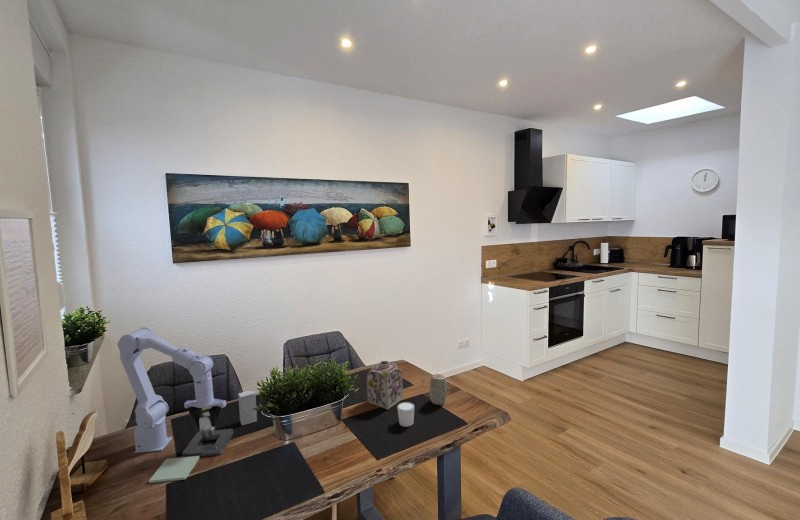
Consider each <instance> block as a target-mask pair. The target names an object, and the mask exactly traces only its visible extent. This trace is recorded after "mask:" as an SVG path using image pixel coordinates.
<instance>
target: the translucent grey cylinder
mask: <svg viewBox="0 0 800 520" xmlns="http://www.w3.org/2000/svg"><path fill="white" fill-rule="evenodd" d="M199 426H200V427H199V432H200V435H201V436H202V437H208V436H211V435H213V434H214V433H215V432H216V430H217V429H216V426H215V427H212V421H211V416H210V414H209V411H205V412H202V414H200V415H199Z"/></svg>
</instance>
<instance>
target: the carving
mask: <svg viewBox="0 0 800 520" xmlns="http://www.w3.org/2000/svg"><path fill="white" fill-rule="evenodd" d="M430 377H431V378H430V383H429V385H430V386H429V387H430V389H429V397H430V398H429V399H430V402H431V403H432V404H434V405H438V406H441V405H443V404H444V403H445V401H446V398H447V379H446V377H445V375H443V374H441V373H440V374H439V373H435V374H432V375H431V376H430Z"/></svg>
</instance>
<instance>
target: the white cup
mask: <svg viewBox="0 0 800 520" xmlns="http://www.w3.org/2000/svg"><path fill="white" fill-rule="evenodd" d="M396 408H397V415H398V423H399V425H400V426H401V427H411V426H412V425H413V424H414V419H415V404H414V403H412V402H407V401H405V402H404V401H403V402H400V403H398V404H397V406H396Z"/></svg>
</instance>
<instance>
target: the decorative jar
mask: <svg viewBox="0 0 800 520" xmlns="http://www.w3.org/2000/svg"><path fill="white" fill-rule="evenodd" d="M402 373H403V371H402V369H401V368H400V367H399V366H397V364H396V363H391V362H390V361H388V360H381V361H379V362H378V363H376V364H374V365H372V366H371V367H370V369H369V370H368V372H367V374H366V389H367V390H366V391H367V392H366V393H367V403H368V404H370V405H372V406H376V407H379V408H382V409H385V410H390V409H391V408H393V407H394V406H395V405H398V404H399V402H401V401H402V400H403V399H404V392H403V391H404V390H403V389H404V387H403V374H402Z"/></svg>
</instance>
